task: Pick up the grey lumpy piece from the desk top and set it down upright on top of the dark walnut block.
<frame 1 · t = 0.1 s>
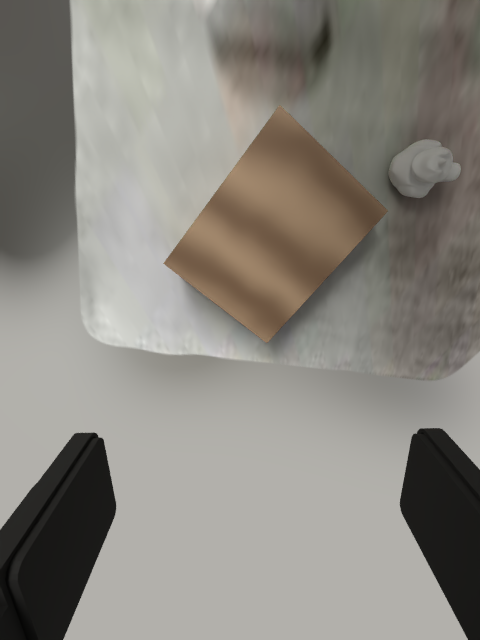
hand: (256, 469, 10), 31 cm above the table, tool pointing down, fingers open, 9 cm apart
grey lumpy piece: (410, 172, 36), on the table
walnut block: (268, 233, 38), on the table
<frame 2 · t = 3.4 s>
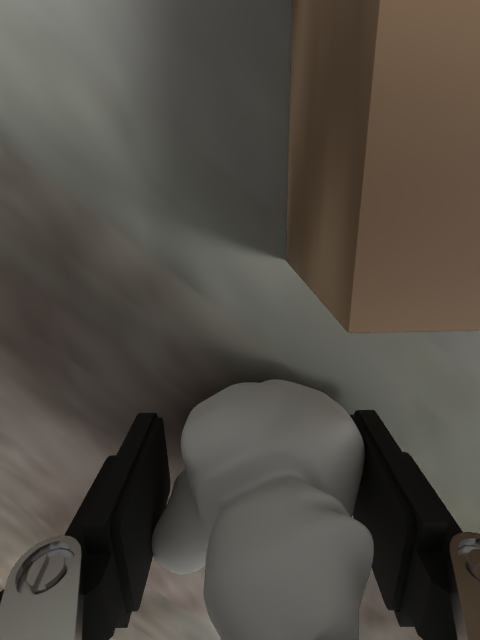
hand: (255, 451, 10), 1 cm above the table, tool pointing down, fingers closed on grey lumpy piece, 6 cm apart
grey lumpy piece: (252, 424, 12), on the table, touching gripper
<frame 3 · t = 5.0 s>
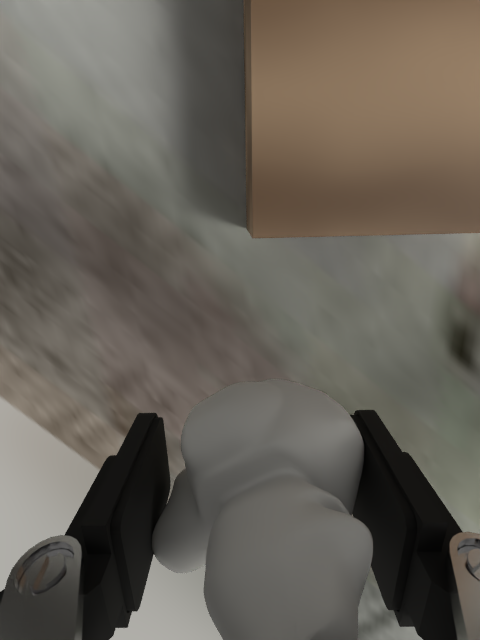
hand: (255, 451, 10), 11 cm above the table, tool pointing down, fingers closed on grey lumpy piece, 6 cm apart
grey lumpy piece: (252, 423, 12), point 10 cm above the table, touching gripper
walnut block: (383, 39, 16), on the table
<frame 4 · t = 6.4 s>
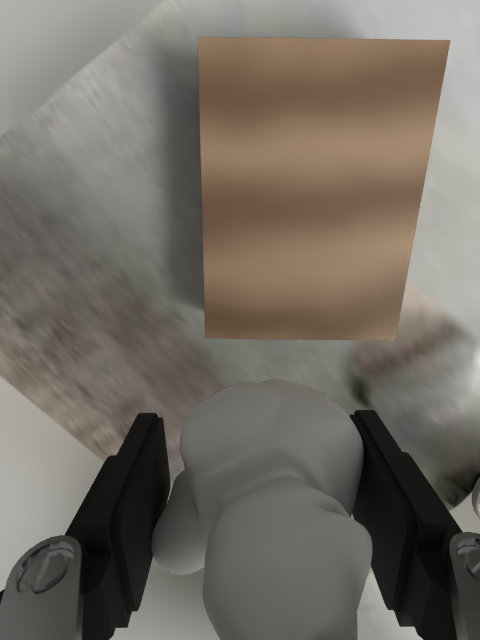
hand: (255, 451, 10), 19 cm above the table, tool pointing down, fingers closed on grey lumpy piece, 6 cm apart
grey lumpy piece: (251, 424, 12), point 18 cm above the table, touching gripper
walnut block: (295, 210, 26), on the table
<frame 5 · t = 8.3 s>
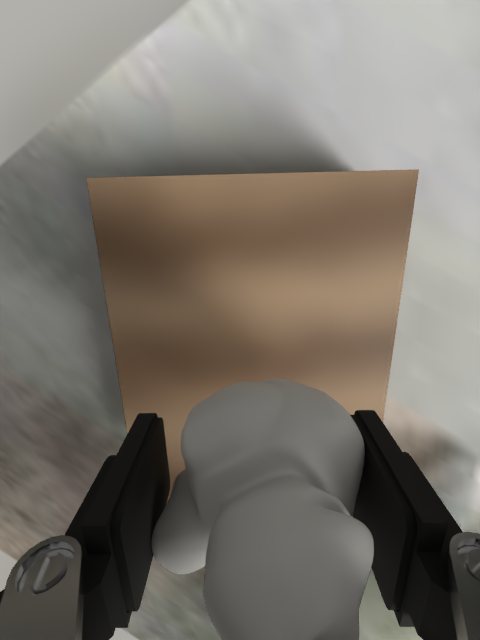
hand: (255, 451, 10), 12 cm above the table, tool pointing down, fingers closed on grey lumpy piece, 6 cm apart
grey lumpy piece: (252, 423, 12), point 11 cm above the table, touching gripper
walnut block: (250, 326, 22), on the table
when the fingers open (8 cm above the table, at t = 9.5 s): grey lumpy piece drops 1 cm, resting on walnut block.
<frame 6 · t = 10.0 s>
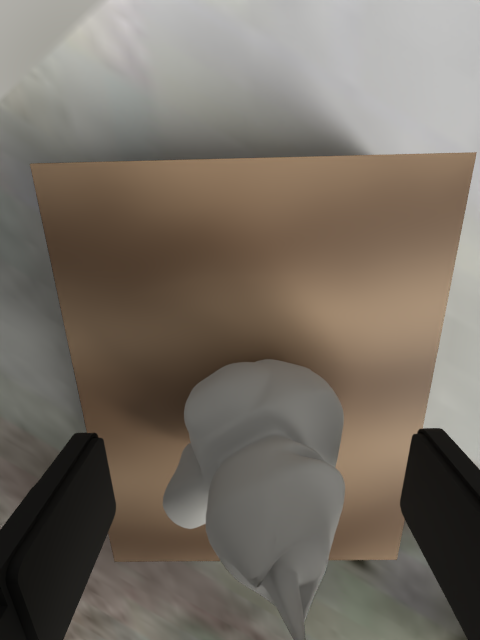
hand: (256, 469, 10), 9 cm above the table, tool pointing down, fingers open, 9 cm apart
grey lumpy piece: (249, 402, 13), point 6 cm above the table, touching walnut block
walnut block: (250, 345, 19), on the table
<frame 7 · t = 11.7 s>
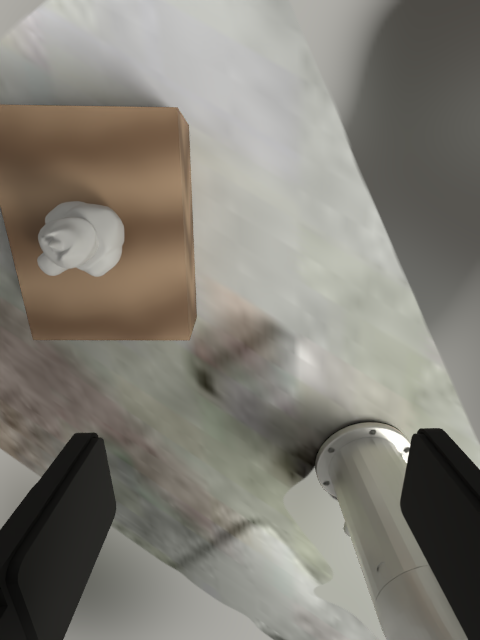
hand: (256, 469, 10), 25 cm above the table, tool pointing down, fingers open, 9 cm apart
grey lumpy piece: (95, 237, 26), point 6 cm above the table, touching walnut block
walnut block: (121, 230, 31), on the table
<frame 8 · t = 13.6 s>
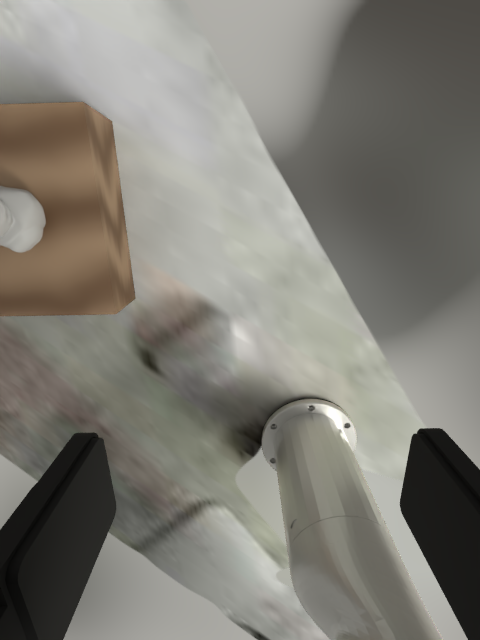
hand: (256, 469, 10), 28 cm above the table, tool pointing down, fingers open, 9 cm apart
grey lumpy piece: (24, 220, 29), point 6 cm above the table, touching walnut block
walnut block: (60, 218, 35), on the table
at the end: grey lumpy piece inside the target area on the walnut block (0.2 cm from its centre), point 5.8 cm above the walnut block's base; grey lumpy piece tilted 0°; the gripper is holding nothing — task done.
